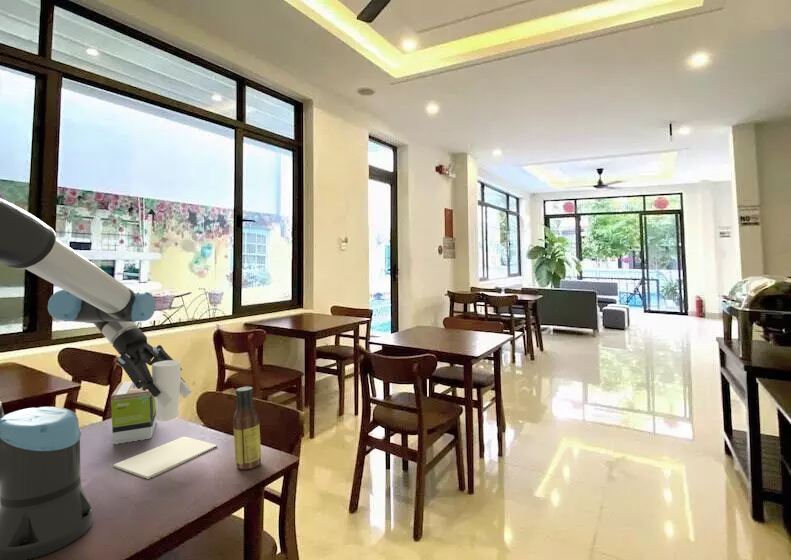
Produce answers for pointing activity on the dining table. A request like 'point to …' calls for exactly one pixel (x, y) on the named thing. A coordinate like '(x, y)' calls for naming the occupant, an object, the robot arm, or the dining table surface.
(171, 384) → the white cup
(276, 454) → the dining table surface
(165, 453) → the placemat
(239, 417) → the sauce bottle
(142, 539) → the dining table surface
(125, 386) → the tea box
